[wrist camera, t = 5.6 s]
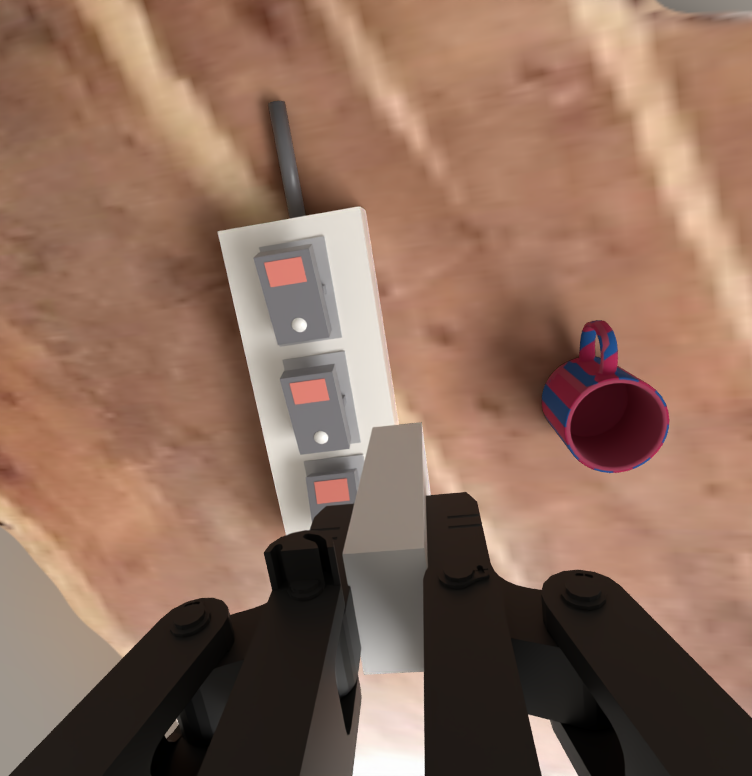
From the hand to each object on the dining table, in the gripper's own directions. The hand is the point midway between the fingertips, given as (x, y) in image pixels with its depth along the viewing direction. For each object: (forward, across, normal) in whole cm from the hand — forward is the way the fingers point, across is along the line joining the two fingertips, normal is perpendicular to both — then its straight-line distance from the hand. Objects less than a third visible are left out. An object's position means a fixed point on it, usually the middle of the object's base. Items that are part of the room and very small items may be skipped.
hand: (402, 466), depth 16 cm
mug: (+26, +13, -6) cm, 30 cm away
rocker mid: (+20, -7, -4) cm, 21 cm away
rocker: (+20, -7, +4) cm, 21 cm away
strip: (+26, -7, 0) cm, 27 cm away
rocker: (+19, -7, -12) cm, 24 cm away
